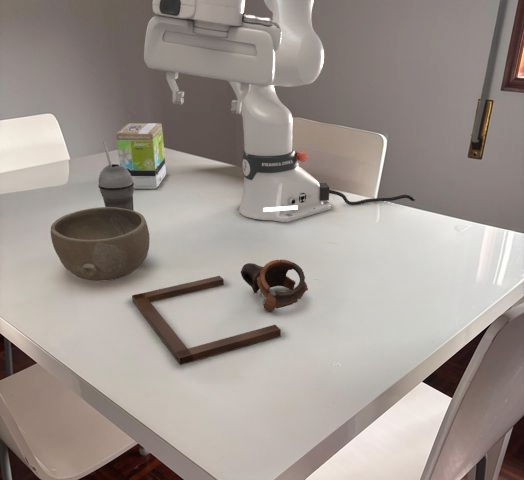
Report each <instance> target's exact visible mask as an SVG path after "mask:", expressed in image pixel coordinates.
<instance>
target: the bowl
mask: <svg viewBox="0 0 524 480" xmlns="http://www.w3.org/2000/svg"><path fill="white" fill-rule="evenodd" d="M50 238H51V243H52V246H53V249H54V251H55V254H56V255H57V257H58V259H59V261H60V263H61V265H62V266H63V267H64V268H65V269H66V270H67V271H68V272H69V273H70V274H72V275H74V276H76V277H77V278H79V279H82V280H85V281H91V282H103V281H114V280H117V279H122V278H125V277H128V276H129V275H131V274H133V273H134V272H135V271H137V270H138V269H139V268H141V266H142V265H143V264H144V263H145V261H146V258H147V256H148V253H149V251H150V231H149V228H148V222H147V219H146V218H145V215H143V214H141V213H140V212H138V211H136V210H134V211H133V210H129V209H124V208H117V207H105V206H101V207H100V206H99V207H93V208H85V209H80V210H76V211H73V212H70V213H68V214H65V215H62V216H61V217H59V218H58V219H56V220H55V221H54V222H53V223H52V224H51V226H50Z"/></svg>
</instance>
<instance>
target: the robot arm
mask: <svg viewBox="0 0 524 480" xmlns="http://www.w3.org/2000/svg"><path fill="white" fill-rule="evenodd" d="M314 1H315V0H263V3H264V4H265V6H266V8H267V9H268V10H269V11H270V12H271V13H272V17H269V16H267V17H266V16H264V17H262V16H258V15H256V14H255V15H254V14H250V13H249V14H248V13H245V5H246V0H152V12H153V13H154V14H155V15H154V16H153V17H151V18H150V20H149V21H148V23H147V27H146V31H145V40H144V48H143V61H144V63H145V65H146V67H148V68H149V69H153V70H158V71H165V72H166V78H165V79H166V81H167V83H168V86H169V88H170V90H171V92H172V100H171V101H172V104H175V105H181V106H182V105H184V102H185V98H184V97H185V91H183V90H180V88H179V86H178V84H177V82H176V80H177V79H179V74H184V75H190V76H196V77H203V78H208V79H214V80H221V81H227V82H228V83H229V85H230V86H231V88H232V90H233V92H234V94H235V96H236V97H235V98H236V99H232V100H231V103H230V106H231V108H230V113H231V114H238V115H241V118H242V126H243V127H242V129H243V148H244V149H243V150H242V175H243V186H242V187H243V189H242V196H241V201H240V205H239V209H238V212H239V214H240V215H242V216H244V217H246V218H249V219H254V220H262V221H276V222H282V223H290V222H293V221H296V220H300V219H302V218H307V217H309V216H312V215H316V214H320V213H323V212H326V211H330V210H331V204H330V202H329V201H330V194H331V195H336V196H339V197H340V198H341V199H343V201H344V203H345V204H346V205H350V206H357V205H363V204H366V203H367V204H368V203H377V202H391V201H392V202H393V201H398V200H403V199H409V201H412V202H415V201H416V199H415V198H414V197H413V196H412V195H409V194H401V195H400V194H399V195H397V196H392V197H376V198H375V197H374V198H365V199H362V200H357V201H351V200H349V199H348V197H347V196H346V194H344V193H342V192H339V191H337V190H333V189H332V190H331V189H330V186H329V184H328V183H327V182H319V181H318V180H317V179H316V178H315V177H314V176H312V175H311V174H310V173H309V172H307V171H306V170H305V169H304V168H302V167H301V166H300V164H299V162H301V163H305V162H306V161H307V160H308V155H307V153H306V152H303V151H296V150H294V149H293V115H292V112H291V111H290V109H289V108H288V107H287V106H285V104H283V103H282V102H281V100H280V99H279V97H278V95H277V92H276V89H275V87H285V88H294V87H301V86H307V85H310V84H313V83H314V82H315V81H316V80H317V79H318V78H319V76H320V74H321V72H322V70H323V66H324V62H325V50H324V46H323V43H322V41H321V38H320V37H319V35H318V34H317V33H316V31H315V29H314V27H313V21H312V12H313V11H312V10H313V6H314Z"/></svg>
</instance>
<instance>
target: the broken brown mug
mask: <svg viewBox="0 0 524 480" xmlns="http://www.w3.org/2000/svg"><path fill="white" fill-rule="evenodd" d="M292 270H294V271H295V272H296V274H297V275H298V277H299V281H298V284H297V285H296V283H297V282H296V280H294V279H292V278H291V277H289V276H288V275H287V274H288V272H289V271H292ZM240 276H241V278H242V279H243V280H244V282H245V283H246V284H247V285H248V286H250V287H251V289H252V292H253V294H257V293H258V292H259V291H260V293H261V295H262V296H263V297H264V298H265V299H264V302H263V304H262V306H263V309H264V310H266V311H267V312H269V313H272V312H273V311H275V309H282V308H285V307H288V306H291V305H294V304H296V303H298V301H299V300H301V299H302V298H303V297H304V295H305V292H307V291H308V290H309V287H308V285H307V283H306V281H305V279H306V276H305V273H304V271H303V269H302V268H301V266H299V265H298V264H297V263H295V262H294V261H290V260H287V259H275V260H271V261H269V262H267V263H266V264H265V265H264V266H261V265H258V264H257V263H253V262H252V263H251V262H248V263H245V264H244V265H243V266H242V267H241V270H240ZM276 287H282V288H285V289H288V290H285V291H281V290H276V289H275V290H274V291H275V294H274V293H272V292H270V289H271V288H276Z"/></svg>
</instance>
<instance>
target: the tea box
mask: <svg viewBox="0 0 524 480" xmlns="http://www.w3.org/2000/svg"><path fill="white" fill-rule="evenodd" d="M115 134H116V135H115V136H116V144H117V152H118V160H119V165H121V166H123V167H124V168H126V169H127V170H128V171H129V173H130V174H131V177H132V180H133V183H134V185H133V187H134V190H144V189H145V190H154V189H155V190H157V189H158V187H159V186H160V185H161V183H162V181H163V180H164V178H165V177H166V176H167V168H166V167H167V166H166V155H165V144H164V143H165V142H164V131H163V124H162V123H161V122H159V123H158V122H157V123H152V122H151V123H149V122H148V123H147V122H145V123H144V122H143V123H141V122H139V123H137V122H135V123H133V122H130V123H129V122H128V123H127V124H126V125H124V126H123V127H122V128H121V129H120V130H118V131H117V132H116V133H115Z"/></svg>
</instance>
